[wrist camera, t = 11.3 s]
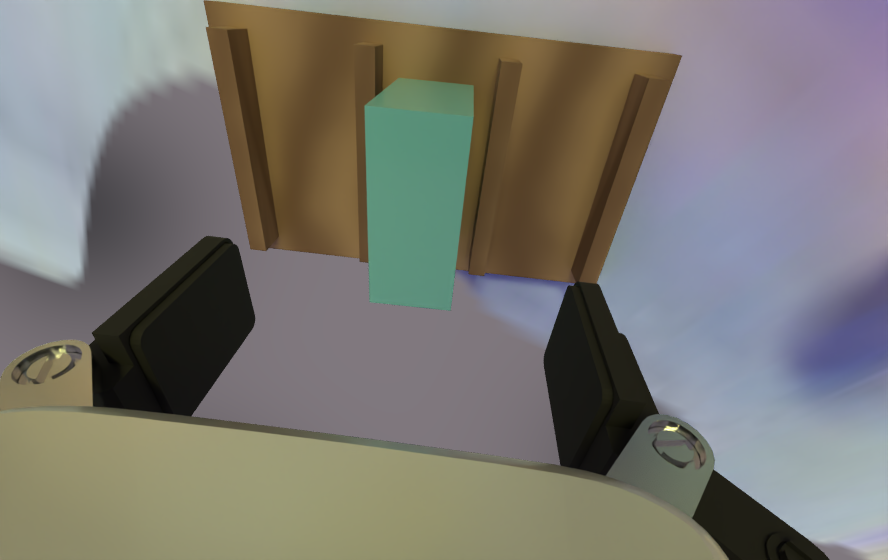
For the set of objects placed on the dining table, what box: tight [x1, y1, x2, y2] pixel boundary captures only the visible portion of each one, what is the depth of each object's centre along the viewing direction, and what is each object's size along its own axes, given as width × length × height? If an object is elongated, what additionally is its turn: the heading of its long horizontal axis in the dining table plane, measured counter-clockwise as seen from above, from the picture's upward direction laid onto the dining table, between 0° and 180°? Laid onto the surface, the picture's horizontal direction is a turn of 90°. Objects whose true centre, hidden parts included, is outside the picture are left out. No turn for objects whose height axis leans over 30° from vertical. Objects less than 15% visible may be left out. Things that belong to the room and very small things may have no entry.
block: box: [365, 78, 474, 311], centre depth 20 cm, size 4×9×8 cm, turn 175°
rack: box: [204, 0, 682, 284], centre depth 23 cm, size 24×14×3 cm, turn 85°
